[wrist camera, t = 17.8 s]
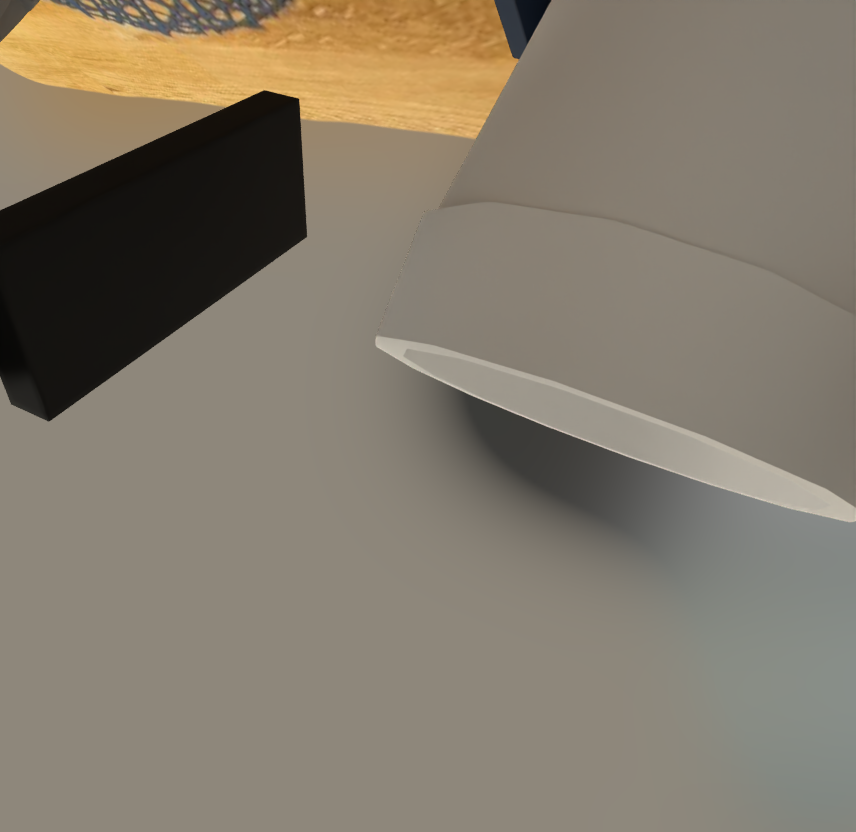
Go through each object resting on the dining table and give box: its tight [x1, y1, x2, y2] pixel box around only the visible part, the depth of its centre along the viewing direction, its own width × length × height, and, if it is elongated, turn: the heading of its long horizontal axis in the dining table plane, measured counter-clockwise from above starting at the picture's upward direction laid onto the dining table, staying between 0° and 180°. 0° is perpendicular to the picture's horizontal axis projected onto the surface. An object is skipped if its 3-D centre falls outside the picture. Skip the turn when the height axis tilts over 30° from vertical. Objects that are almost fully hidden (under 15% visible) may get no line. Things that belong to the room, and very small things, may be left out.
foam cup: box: [376, 0, 856, 522], centre depth 15 cm, size 10×9×13 cm
